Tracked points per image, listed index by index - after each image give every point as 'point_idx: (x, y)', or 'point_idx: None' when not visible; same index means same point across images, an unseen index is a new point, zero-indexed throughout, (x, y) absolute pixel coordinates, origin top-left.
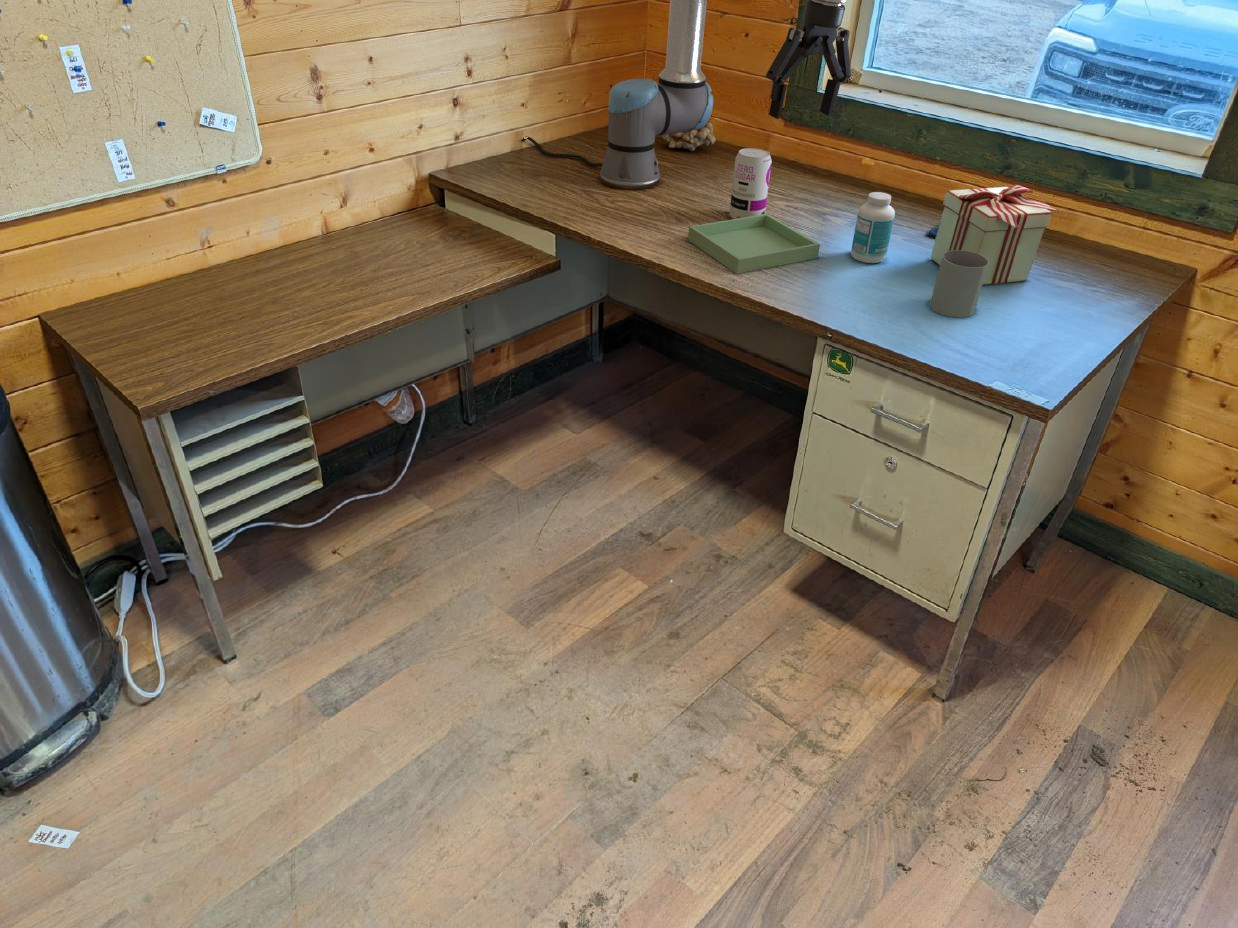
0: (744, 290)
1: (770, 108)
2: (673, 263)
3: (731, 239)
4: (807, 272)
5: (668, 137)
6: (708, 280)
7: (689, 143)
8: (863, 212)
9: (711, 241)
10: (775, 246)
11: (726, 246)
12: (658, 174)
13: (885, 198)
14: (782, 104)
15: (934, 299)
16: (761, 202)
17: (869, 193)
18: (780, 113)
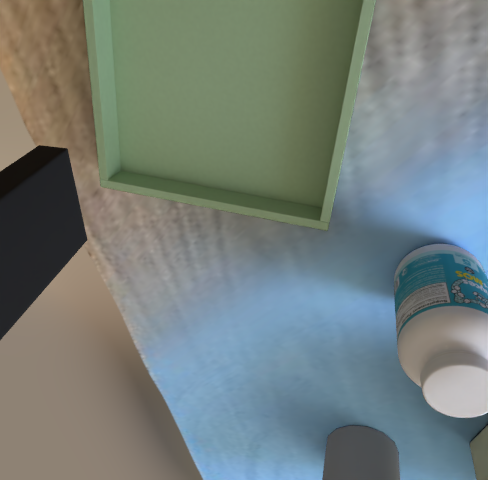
0: (95, 232)
1: (8, 173)
2: (12, 53)
3: (201, 11)
4: (253, 247)
5: None
6: None
7: None
8: (401, 346)
9: (89, 65)
10: (277, 120)
11: (161, 49)
12: None
13: (449, 411)
14: (23, 308)
15: (329, 448)
16: None
17: (453, 366)
18: (65, 261)
